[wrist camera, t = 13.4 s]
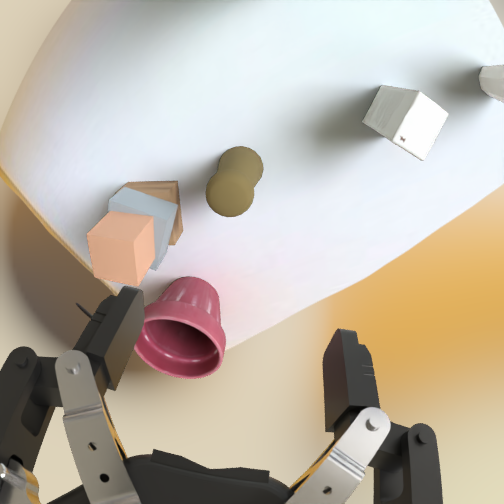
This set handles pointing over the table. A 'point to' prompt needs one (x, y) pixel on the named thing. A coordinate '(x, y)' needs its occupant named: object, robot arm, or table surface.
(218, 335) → the plant pot
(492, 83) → the low poly bottle
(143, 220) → the cube
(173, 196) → the bottom block
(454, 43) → the table surface
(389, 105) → the skincare box
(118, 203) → the top block
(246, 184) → the cork
